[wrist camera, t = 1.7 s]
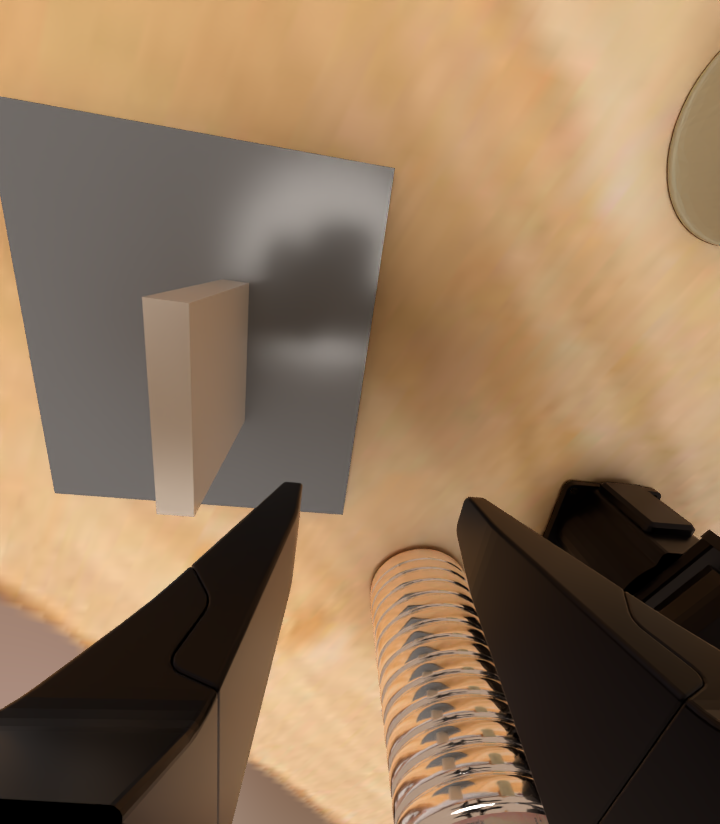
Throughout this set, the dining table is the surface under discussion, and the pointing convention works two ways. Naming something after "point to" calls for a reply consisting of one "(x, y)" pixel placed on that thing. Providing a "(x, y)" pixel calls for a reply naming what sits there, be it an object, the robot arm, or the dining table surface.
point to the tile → (194, 386)
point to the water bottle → (444, 701)
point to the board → (183, 267)
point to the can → (698, 158)
